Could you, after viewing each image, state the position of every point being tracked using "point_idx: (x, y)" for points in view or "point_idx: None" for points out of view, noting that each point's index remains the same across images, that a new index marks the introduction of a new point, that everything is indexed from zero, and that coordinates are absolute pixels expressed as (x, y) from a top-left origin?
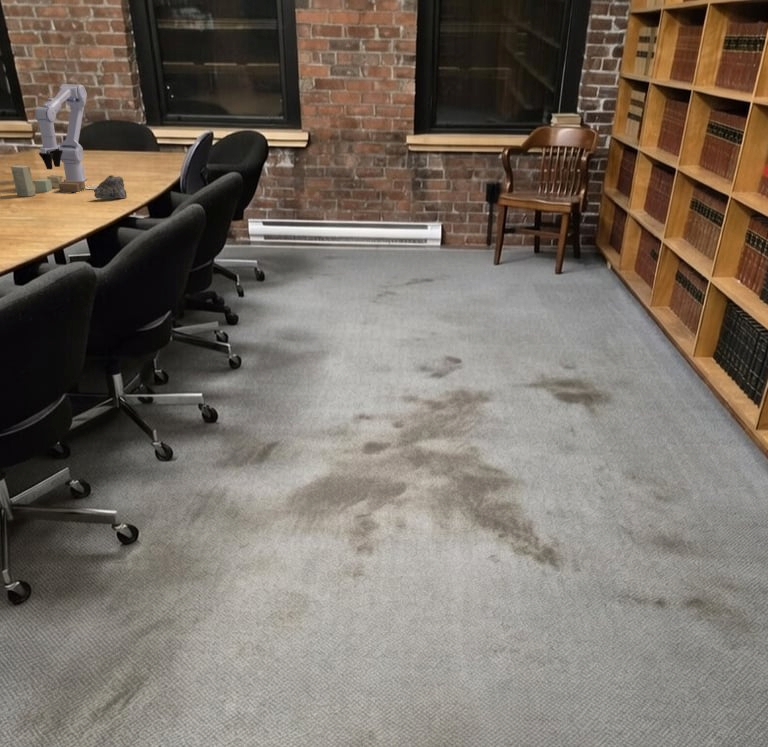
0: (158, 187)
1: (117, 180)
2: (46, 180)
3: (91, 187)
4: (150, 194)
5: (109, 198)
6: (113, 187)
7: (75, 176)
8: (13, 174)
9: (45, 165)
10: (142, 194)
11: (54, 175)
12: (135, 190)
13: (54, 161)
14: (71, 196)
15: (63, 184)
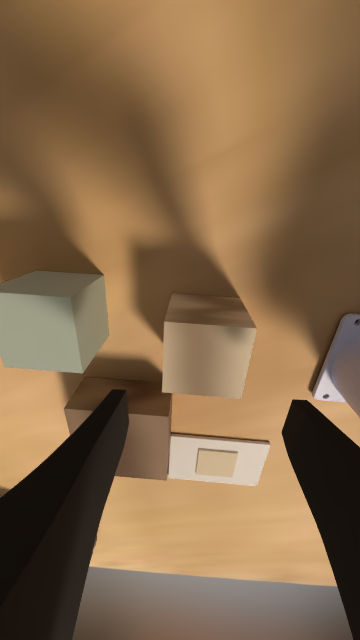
0: (243, 572)
1: None
2: (33, 364)
3: (197, 458)
4: (143, 566)
5: None
6: None
7: (350, 406)
8: None
9: (91, 413)
10: (138, 557)
11: (230, 352)
12: (188, 544)
13: (325, 455)
14: (28, 432)
15: (70, 425)
